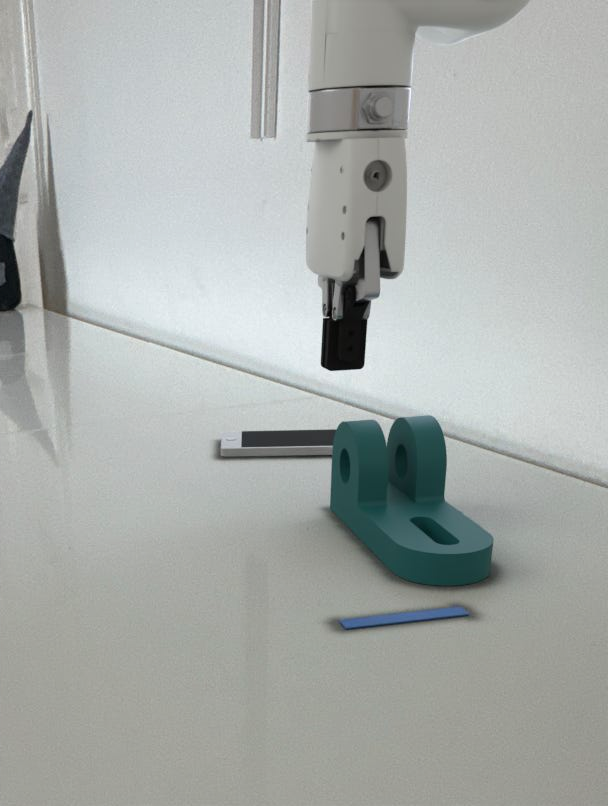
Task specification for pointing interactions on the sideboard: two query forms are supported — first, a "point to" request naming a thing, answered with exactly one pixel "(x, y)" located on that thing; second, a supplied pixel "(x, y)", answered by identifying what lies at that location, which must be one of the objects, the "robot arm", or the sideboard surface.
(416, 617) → the tape line
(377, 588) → the sideboard surface
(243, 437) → the smartphone
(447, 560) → the bracket
